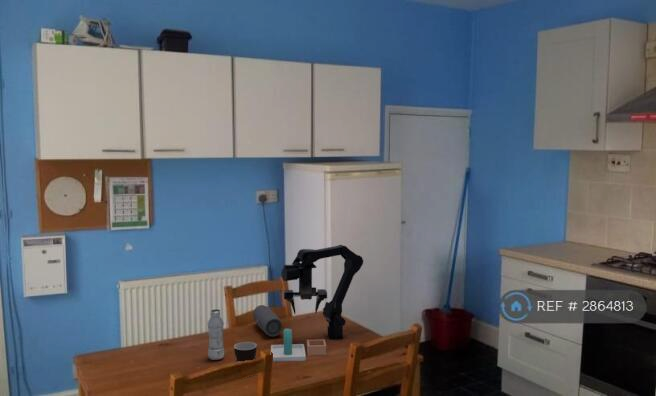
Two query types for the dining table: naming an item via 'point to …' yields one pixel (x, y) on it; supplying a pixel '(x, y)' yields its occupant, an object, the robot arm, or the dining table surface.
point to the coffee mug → (245, 351)
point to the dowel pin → (287, 341)
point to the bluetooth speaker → (267, 320)
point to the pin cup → (316, 347)
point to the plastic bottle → (215, 336)
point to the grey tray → (296, 355)
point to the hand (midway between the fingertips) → (305, 313)
